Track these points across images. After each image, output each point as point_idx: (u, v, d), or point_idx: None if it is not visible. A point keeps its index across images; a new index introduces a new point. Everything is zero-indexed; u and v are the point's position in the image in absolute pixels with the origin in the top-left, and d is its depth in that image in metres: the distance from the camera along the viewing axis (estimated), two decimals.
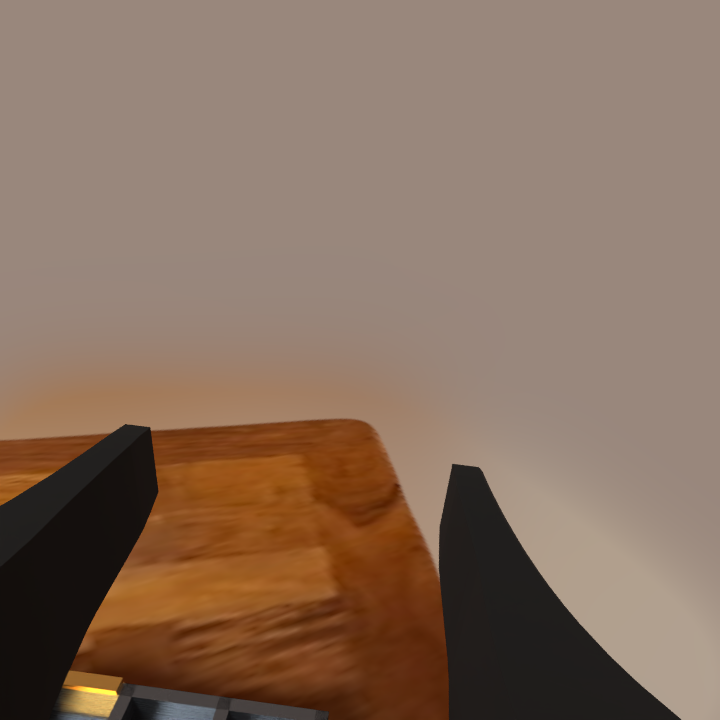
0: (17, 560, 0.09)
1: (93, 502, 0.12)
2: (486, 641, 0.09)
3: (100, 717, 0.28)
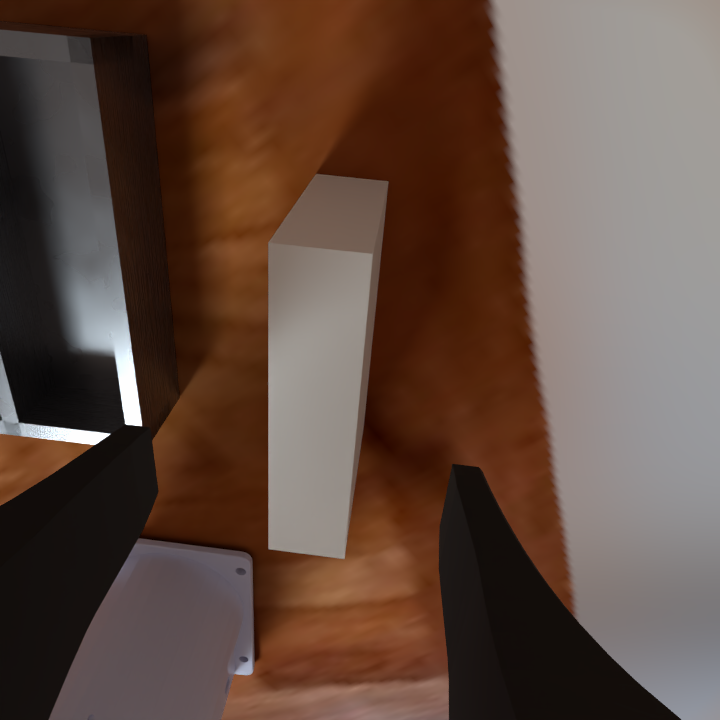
0: (17, 560, 0.09)
1: (93, 502, 0.12)
2: (486, 641, 0.09)
3: None
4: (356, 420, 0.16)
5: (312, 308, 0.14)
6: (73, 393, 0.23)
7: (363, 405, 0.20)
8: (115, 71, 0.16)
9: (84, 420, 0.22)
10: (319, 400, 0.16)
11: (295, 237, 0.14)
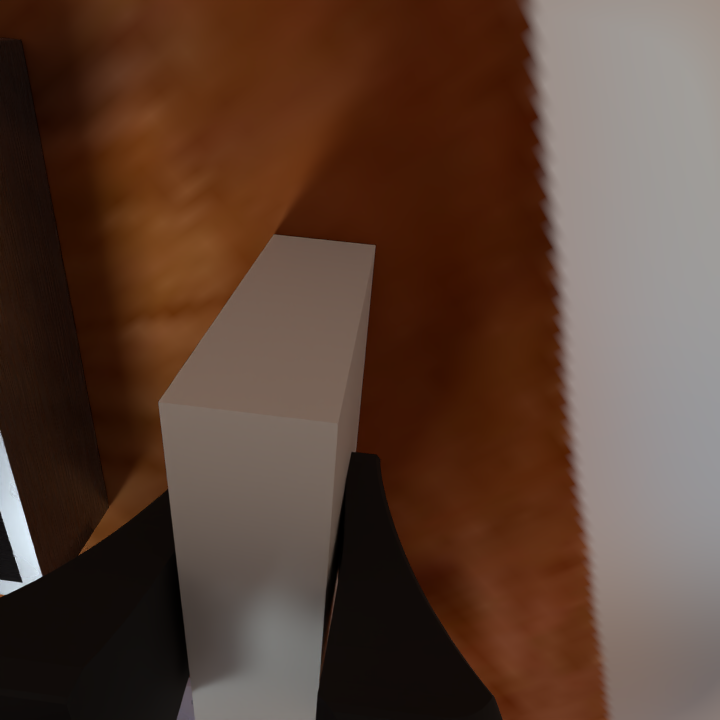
0: (160, 579, 0.09)
1: None
2: None
3: None
4: (320, 642, 0.10)
5: (240, 497, 0.09)
6: None
7: None
8: None
9: None
10: (261, 616, 0.10)
11: (210, 384, 0.08)
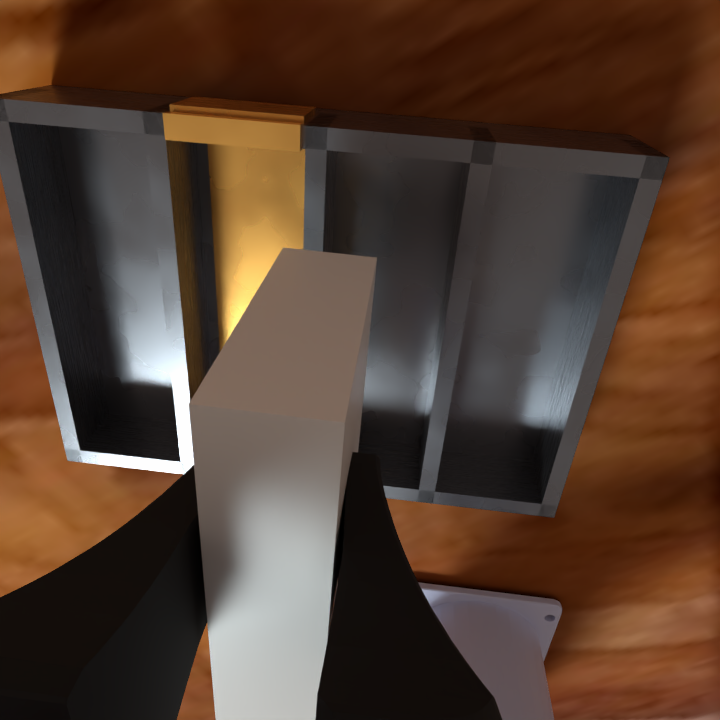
0: (160, 579, 0.09)
1: None
2: None
3: None
4: (328, 618, 0.11)
5: (258, 487, 0.10)
6: (456, 458, 0.24)
7: None
8: None
9: (489, 487, 0.23)
10: (275, 593, 0.11)
11: (233, 387, 0.09)
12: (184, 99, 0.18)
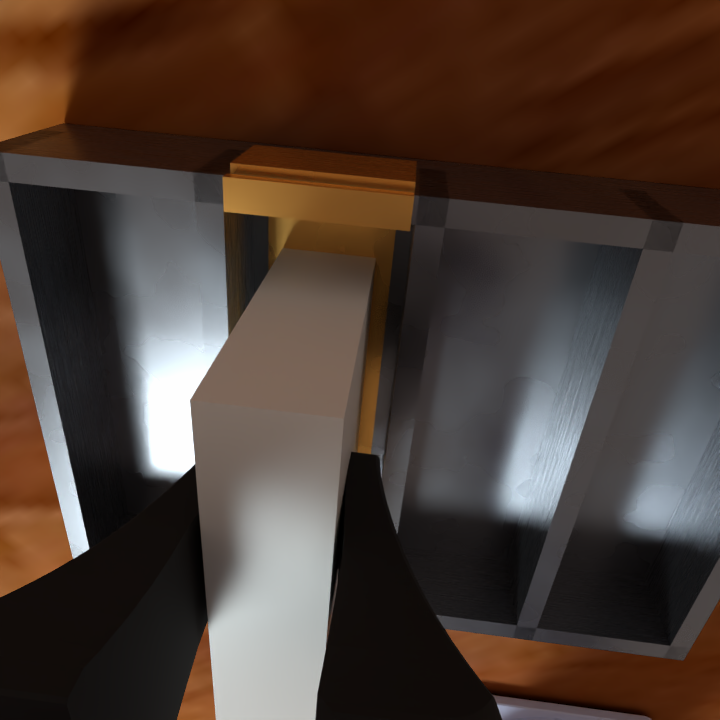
0: (160, 579, 0.09)
1: None
2: None
3: None
4: (327, 613, 0.11)
5: (258, 483, 0.10)
6: None
7: None
8: None
9: (602, 620, 0.18)
10: (275, 589, 0.11)
11: (233, 384, 0.10)
12: (245, 151, 0.13)
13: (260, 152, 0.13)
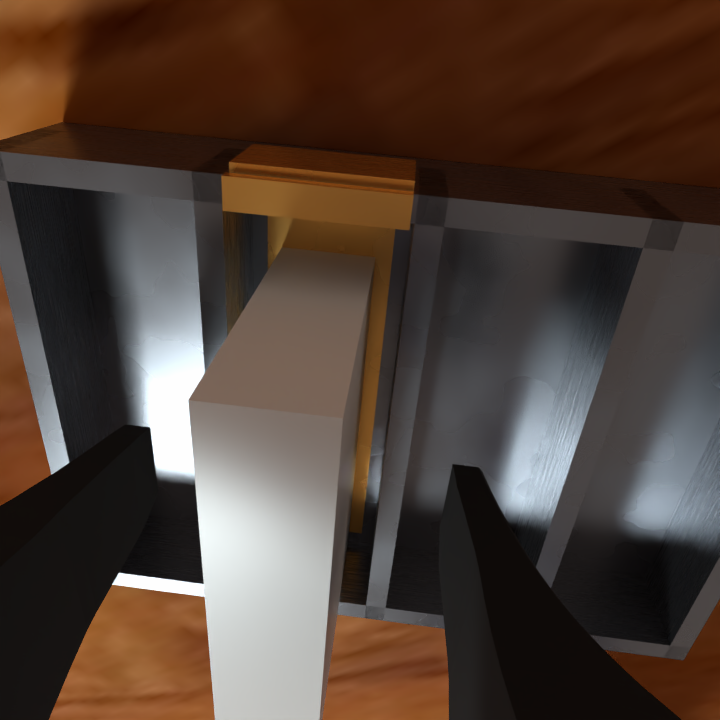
0: (17, 560, 0.09)
1: (93, 502, 0.12)
2: (486, 640, 0.09)
3: None
4: (326, 614, 0.11)
5: (257, 482, 0.10)
6: None
7: (343, 540, 0.16)
8: None
9: (602, 620, 0.18)
10: (274, 589, 0.11)
11: (231, 384, 0.10)
12: (244, 150, 0.13)
13: (259, 151, 0.13)
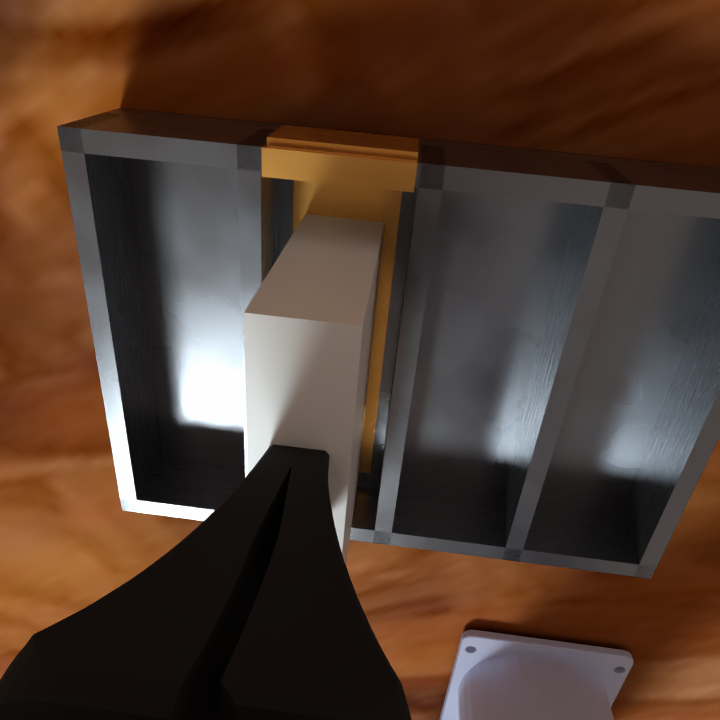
0: (235, 589, 0.09)
1: (270, 525, 0.11)
2: None
3: None
4: (346, 500, 0.14)
5: (294, 382, 0.13)
6: (539, 510, 0.22)
7: (356, 465, 0.19)
8: None
9: (580, 544, 0.21)
10: None
11: (275, 303, 0.12)
12: (277, 129, 0.16)
13: (289, 130, 0.16)
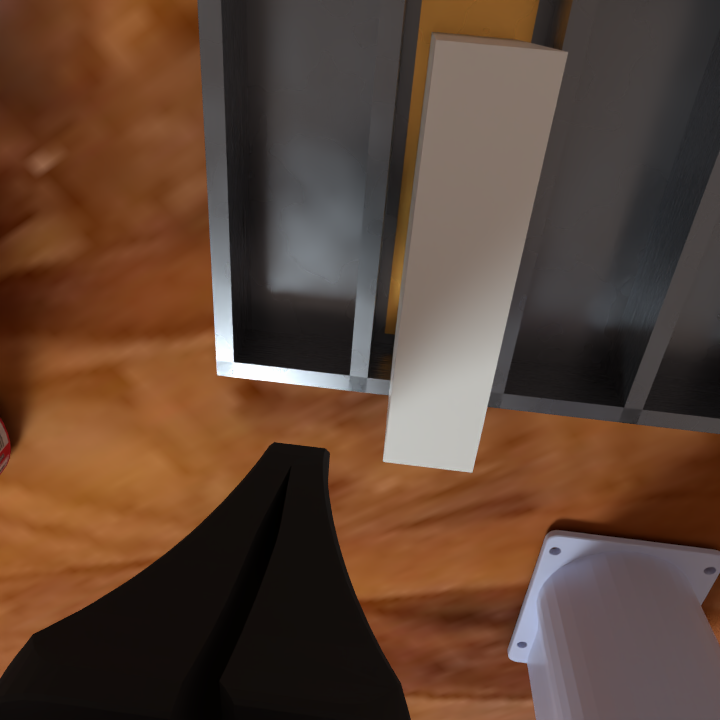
0: (234, 589, 0.09)
1: (270, 524, 0.11)
2: None
3: None
4: (512, 288, 0.13)
5: (479, 132, 0.12)
6: None
7: None
8: None
9: (700, 407, 0.20)
10: (471, 261, 0.13)
11: (463, 41, 0.11)
12: None
13: None
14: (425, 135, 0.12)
